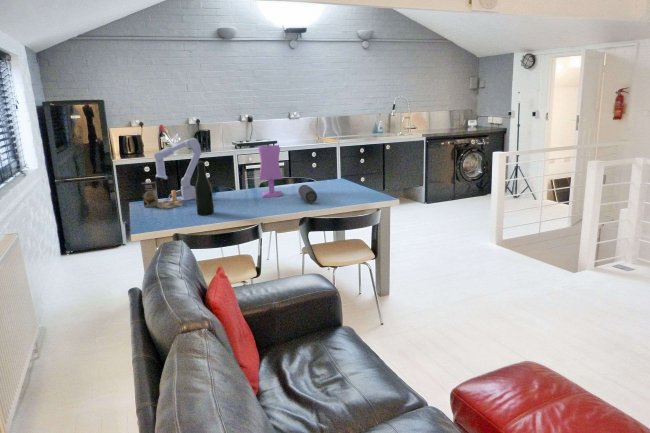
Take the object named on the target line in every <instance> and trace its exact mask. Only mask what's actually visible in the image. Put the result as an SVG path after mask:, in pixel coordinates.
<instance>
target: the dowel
mask: <svg viewBox="0 0 650 433" xmlns="http://www.w3.org/2000/svg"><path fill="white" fill-rule="evenodd" d="M170 192H171V200H172V201H173V202H175V201H177V199H178V197H177V190H174V189H173V190H171V191H170Z"/></svg>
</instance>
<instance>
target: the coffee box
mask: <svg viewBox="0 0 650 433" xmlns="http://www.w3.org/2000/svg"><path fill="white" fill-rule="evenodd" d="M140 186H141V192H142V202H143V207H144V208H150V207H151V208H152V207H153V208H154V207H157V202H159V198H158V189H157V188H158V187H157V181H147V182H141V185H140Z"/></svg>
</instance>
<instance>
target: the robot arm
mask: <svg viewBox="0 0 650 433" xmlns="http://www.w3.org/2000/svg"><path fill="white" fill-rule="evenodd" d="M189 147H190V148H191V149H192V151H193V155H192V157H191V160H190V162H189V165H188V166H187V169H186V172H185V174H184V176H183V177H182V178H181V179H180V185H181V186H180V191H181V197H180V198H179V200H181V201H184V202H185V201H190V200H196V195H195V187H196V186H194V185H192V184H191V179H192V176H193V174H194V172H195V169H196V167H197V164H198V161H200V158H201V155H202V149H201V145H200V142H199V140H198V139H197V138H196V137H191V138H190V139H189V138H188V139H185V140H184V141H181V142H179V143H177V144H176V145H174V146H165V148H163V149H159V151H157V152H156V153H154V159H155V168H156V169H155V170H156V174H155V178H154V180H155V182H156V184H157V185H158V188H163V190H167V189H168V185H169V184H168V183H169V181H170V178H168V175H166V168H165V166H166V165H165V161H164V160H165V159H164V158H168V157H169V156H172V155H174V153H175V151H178V150H180V149H182V148H189Z"/></svg>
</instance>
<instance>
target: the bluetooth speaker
mask: <svg viewBox="0 0 650 433" xmlns="http://www.w3.org/2000/svg"><path fill="white" fill-rule="evenodd" d="M298 195H299V196H300V197H301V198H302V199H303V200H304V201H305V202H306V203H308V204H313V203H315V202H316V201H317V200H318V194H317V192H316V190H315V189H314V188H312V187H311V186H309V185H307V184H301V185H300V186H299V187H298Z"/></svg>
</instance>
